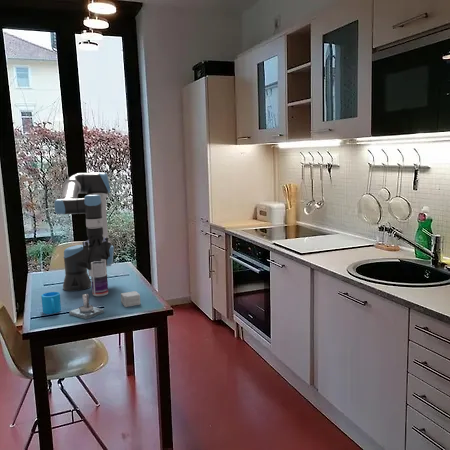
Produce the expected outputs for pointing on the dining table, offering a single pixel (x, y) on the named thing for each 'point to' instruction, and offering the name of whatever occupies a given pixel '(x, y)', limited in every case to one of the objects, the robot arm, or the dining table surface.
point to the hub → (99, 268)
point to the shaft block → (86, 309)
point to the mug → (51, 302)
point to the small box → (130, 298)
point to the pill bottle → (99, 285)
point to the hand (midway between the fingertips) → (97, 274)
